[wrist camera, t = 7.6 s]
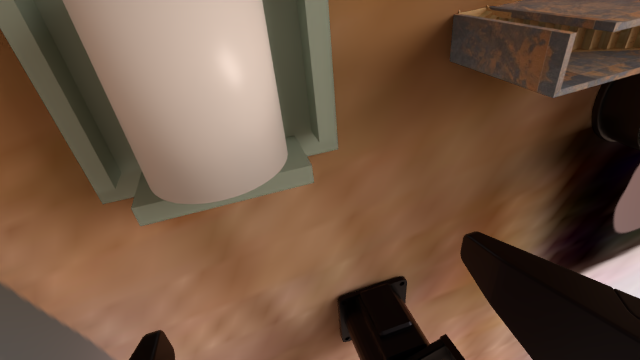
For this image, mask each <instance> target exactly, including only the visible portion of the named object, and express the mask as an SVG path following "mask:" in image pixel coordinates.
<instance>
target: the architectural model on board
mask: <svg viewBox="0 0 640 360" xmlns="http://www.w3.org/2000/svg"><path fill="white" fill-rule="evenodd" d="M450 61H451V62H454V63H457V64H459V65H462V66H465V67H468V68H471V69H473V70H476V71H479V72H482V73H485V74H487V75H490V76H493V77H496V78H499V79H501V80H504V81H507V82H510V83H513V84H515V85H518V86H521V87H524V88H527V89H529V90H532V91H535V92H538V93H541V94H543V95H546V96H549V97H552V98H554V97H558V96H561V95H565V94H568V93H572V92H575V91H579V90H582V89H586V88H589V87H593V86H596V85H600V84H603V83H607V82H610V81H614V80H617V79H621V78H624V77H628V76H631V75H635V74H638V73H640V0H522V1H518V2H513V3H509V4H504V5H500V6H490V7H489V6H488V5H487V7H485V8H481V9H476V10H472V11H467V12H463V13H460V10H459V12H458V14H454V18H453V30H452V41H451V53H450Z"/></svg>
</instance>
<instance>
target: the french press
mask: <svg viewBox="0 0 640 360" xmlns="http://www.w3.org/2000/svg"><path fill="white" fill-rule="evenodd" d="M592 124H593V128H594V131H595V133H596V134H597V135H598V136H599V137H600V138H602V139H605V140H607V141H613V142H620V143H622V144H625V145H627V146H629V147H632V148H634V149H637V150H639V151H640V73H638V74H635V75H631V76H628V77H624V78H621V79H617V80H614V81H610V82H607V83H603V85H602V87H601V89H600V91H599V94H598V96H597V98H596V101H595V105H594V108H593V114H592Z"/></svg>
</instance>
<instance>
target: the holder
mask: <svg viewBox="0 0 640 360" xmlns="http://www.w3.org/2000/svg"><path fill="white" fill-rule="evenodd" d="M262 2H263V8H264V14H265V20H266V26H267V32H268V38H269V44H270V50H271V56H272V62H273V68H274V74H275V80H276V85H277V91H278V97H279V103H280V109H281V115H282V121H283V127H284V133H285V139H286V145H287V152H288V156H287V160H286V163H285V165H284V166H283V168H282V169H281V170H280V171H279V172H278V173H277V174H276V175H275V176H274V177H273V178H272V179H270V180H269V181H267V182H266V183H264V184H263V185H261V186H259V187H257V188H256V189H254V190H251V191H249V192H247V193H244V194H242V195H239V196H236V197H233V198H230V199H226V200H222V201H217V202H211V203H205V204H180V203H173V202H169V201H166V200H163V199H161V198H159V197H158V196H156V195H155V194H154V193H153V192H152V191H151V189H150V187H149V185H148V183H147V181H146V179H145V176H144V174H143V172H142V170H141V168H140V166H139V164H138V161H137V159H136V157H135V155H134V153H133V151H132V149H131V146H130V144H129V142H128V140H127V138H126V136H125V134H124V131H123V129H122V127H121V125H120V123H119V121H118V119H117V116H116V114H115V112H114V110H113V108H112V106H111V104H110V101H109V99H108V97H107V95H106V93H105V91H104V89H103V86H102V84H101V82H100V80H99V78H98V76H97V74H96V71H95V69H94V67H93V65H92V63H91V61H90V59H89V56H88V54H87V52H86V50H85V48H84V46H83V44H82V41H81V39H80V37H79V35H78V33H77V31H76V29H75V26H74V24H73V22H72V20H71V18H70V16H69V14H68V11H67V9H66V7H65V5H64V3H63V1H62V0H0V29H1V30H2V32H3V34H4V36H5V37H6V39H7V41H8V42H9V44H10V46H11V48H12V49H13V51H14V53H15V54H16V56H17V58H18V60H19V61H20V63H21V65H22V66H23V68H24V70H25V72H26V73H27V75H28V77H29V78H30V80H31V82H32V84H33V85H34V87H35V89H36V91H37V92H38V94H39V96H40V97H41V99H42V101H43V103H44V104H45V106H46V108H47V109H48V111H49V113H50V115H51V116H52V118H53V120H54V121H55V123H56V125H57V127H58V128H59V130H60V132H61V133H62V135H63V137H64V139H65V140H66V142H67V144H68V145H69V147H70V149H71V151H72V152H73V154H74V156H75V157H76V159H77V161H78V163H79V164H80V166H81V168H82V169H83V171H84V173H85V175H86V176H87V178H88V180H89V181H90V183H91V185H92V187H93V188H94V190H95V192H96V193H97V195H98V197H99V199H100V200H101V202H102V204H106V203H110V202H115V201H119V200H123V199H127V198H132V197H134V200H133V204H132V207H131V209H132V211H133V213H134V215H135V217H136V219H137V221H138V223H139V225H140V226H144V225H148V224H152V223H156V222H160V221H164V220H167V219H171V218H175V217H179V216H183V215H187V214H191V213H195V212H199V211H203V210H207V209H211V208H215V207H219V206H223V205H227V204H231V203H235V202H239V201H243V200H247V199H251V198H255V197H259V196H263V195H267V194H271V193H275V192H279V191H283V190H287V189H291V188H295V187H299V186H303V185H307V184H311V183H314V179H313V170H312V165H311V163H310V161H309V159H308V158H307V156H311V155H315V154H320V153H324V152H328V151H333V150H337V149H338V138H337V124H336V109H335V95H334V80H333V65H332V51H331V36H330V21H329V7H328V0H262Z"/></svg>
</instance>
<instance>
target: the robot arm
mask: <svg viewBox="0 0 640 360" xmlns="http://www.w3.org/2000/svg"><path fill="white" fill-rule="evenodd" d="M460 254H461V259H462V261H463V263H464V264H465V266H466V267H467V269H468V270H469V272H470V274H471V275H472V277H473V278H474V280H475V282H476V283H477V285H478V286H479V288H480V290H481V291H482V293H483V294H484V296H485V297H486V299H487V300H488V302H489V303H490V305H491V306H492V307H493V309H494V310H495V311H496V313H497V314H498V315H499V317H500V318H501V319H502V321H503V322H504V323H505V324H506V326H507V327H508V328H509V330H510V331H511V332H512V333H513V335H514V336H515V337H516V339H517V340H518V341H519V343H520V344H521V345H522V346H523V348H524V349H525V350H526V352H527V353H528V354H529V355H530V357H531V358H532V359H533V360H640V299H639V298H637V297H634V296H632V295H629V294H627V293H625V292H622V291H620V290H617V289H613V288H612V287H610V286H608V285H605V284H603V283H600V282H598V281H596V280H593V279H591V278H588V277H586V276H584V275H581V274H579V273H576V272H574V271H572V270H569V269H567V268H564V267H562V266H560V265H557V264H555V263H552V262H550V261H548V260H545V259H543V258H540V257H538V256H536V255H533V254H531V253H528V252H526V251H523V250H521V249H519V248H516V247H514V246H511V245H509V244H507V243H504V242H502V241H499V240H497V239H495V238H492V237H490V236H487V235H485V234H483V233H480V232H472V233H469V234H466V235H464V237H463V241H462V247H461V253H460ZM406 287H407V281H406V279H405V278H404V277H403V276H401V277H398V278H395V279H392V280H389V281H385V282H382V283H379V284H376V285H373V286H370V287H367V288H364V289H361V290H358V291H355V292H352V293H349V294H346V295H343V296H341V297H339V298H338V311H339V321H340V331H341V338H342V340H343V342H347V341H350V340H352V341H353V344H354V346H355V349H356V351H357V353H358V356H359V358H360V360H465V359H464V357H463V356H462V355H461V353H460V352H459V351H458V350H457V348H456V347H455V346H454V344H453V343H452V342H451V340H450V339H449V338H448V336H447V335H446V334H445V335H443V336H441V337H440V339H439V340H437V341H435V342H433V343H431V344H430V343H429V342H428V340H427V339H426V337H425V335H424V334H423V332H422V331H421V329H420V327H419V326H418V324H417V323H416V321H415V319H414V318H413V316H412V314H411V313H410V311H409V310H408V308H407V306H406V305H405V299H406ZM129 360H175V353H174V349H173V347H172V345H171V343H170V342H169V340H168V338H167V337H166V335H165V333H164V332H163V331H162V330H158V331H155V332H152V333H148V334H146V335H145V336H144V337H143V338H142V339H141V341H140V343H139V344H138V346H137V348H136V349H135V351H134V352H133V354H132V356H131V357H130V359H129Z"/></svg>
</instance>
